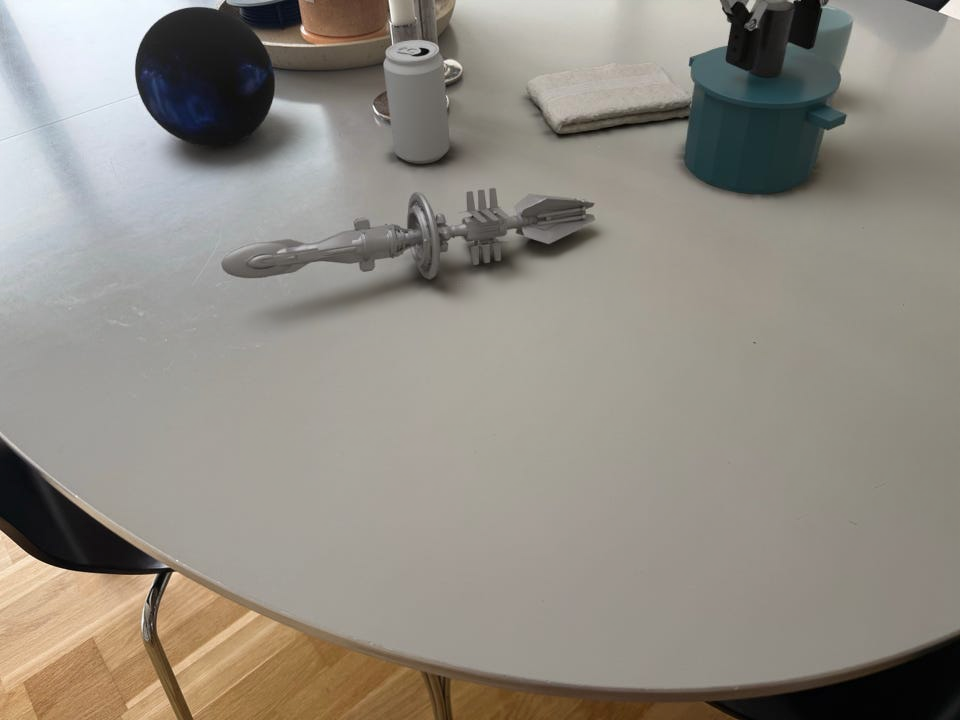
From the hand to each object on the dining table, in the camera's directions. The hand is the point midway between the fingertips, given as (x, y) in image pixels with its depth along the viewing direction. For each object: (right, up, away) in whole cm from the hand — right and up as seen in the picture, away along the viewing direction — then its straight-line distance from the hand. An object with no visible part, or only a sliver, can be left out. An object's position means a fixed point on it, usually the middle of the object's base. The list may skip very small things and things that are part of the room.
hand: (769, 54), depth 81 cm
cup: (+10, +1, +18) cm, 21 cm away
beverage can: (-35, -7, +12) cm, 38 cm away
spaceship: (-34, -22, -5) cm, 41 cm away
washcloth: (-13, 0, +19) cm, 23 cm away
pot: (0, -9, +8) cm, 12 cm away
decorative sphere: (-60, -4, +17) cm, 62 cm away
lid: (0, -2, +2) cm, 2 cm away
